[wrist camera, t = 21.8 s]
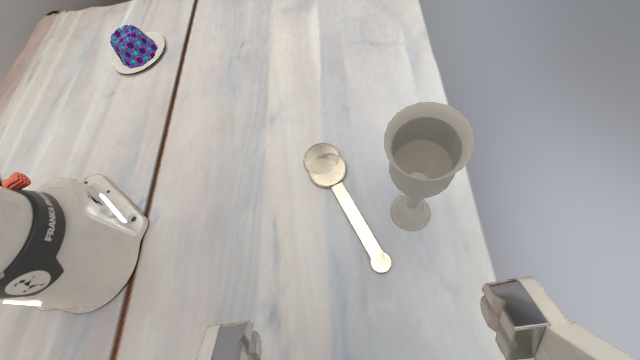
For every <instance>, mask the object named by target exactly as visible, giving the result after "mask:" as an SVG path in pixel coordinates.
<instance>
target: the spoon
mask: <svg viewBox="0 0 640 360" xmlns="http://www.w3.org/2000/svg"><path fill="white" fill-rule="evenodd" d="M304 165H305V168H306V170H307V171H308V172H309V173H310V177H311V179H312V181H313V182H314V183H315V184H316V185H317V186H319V187H322V188H331V189H332V191H333V193H334V195H335V197H336V198H337V200H338V202H339V204H340V205H341V207H342V209H343V211H344V212H345V214H346V216H347V218H348V220H349V221H350V223H351V225H352V227H353V228H354V230H355V232H356V234H357V235H358V237H359V239H360V241H361V243H362V244H363V246H364V248H365V250H366V251H367V253H368V255H369V257H370V258H371V261H370V263H371V267H372V268H373V270H374V271H376V272H377V273H386V272H388V271H389V270H390V268H391V266H392V260H391V257H390V256H389V255H388V254H387V253H385V252H383V250H382V249H381V247H380V245H379V243H378V242H377V240H376V238H375V237H374V235H373V233H372V232H371V230H370V228H369V227H368V225H367V223H366V222H365V220H364V218H363V217H362V215H361V213H360V211H359V210H358V208H357V206H356V205H355V203H354V201H353V200H352V198H351V196H350V195H349V193H348V191H347V190H346V188H345V186H344V184H343V183H342V181H343V180H344V178H345V176H346V171H347V169H346V164H345V162H344V160H343V159H342V158H341V157H340V155H339V152H338V150H337V149H336V148H335V147H334V146H332V145H330V144H327V143H320V144H316V145H314V146H312V147H311V148H310V149H309V150H308V151H307V152H306V154H305V156H304Z"/></svg>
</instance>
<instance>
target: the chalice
mask: <svg viewBox="0 0 640 360" xmlns="http://www.w3.org/2000/svg"><path fill="white" fill-rule="evenodd" d="M384 147H385V150H386V154H387V157H388V159H389V160H390V164H389V172H390V175H391V178H392V181H393V182H394V183H395V185H396V186H397V188H398V189H399V190H400V191H402V192H403V193H404V194H406V195H402V196H400V197H398V198H397V199H396V200H395V201H394V202H393V204H392V207H391V217H392V220H393V221H394V222H395V224H396V225H397V226H399V227H400V228H401V229H404V230H407V231H415V230H419V229H421V228H423V227H424V226H425V225H426V224H427V223H428V221H429V218H430V208H429V206H428V204H427V203H426V201H425V200H424V198H428V197H431V196H434V195H437V194H439V193H440V192H442V191H443V190H445V189H446V188H447V187H448V185H449V184H450V182H451V181H452V179H453V177H454V175H455V173H457V172H458V171H459V170H461V169H462V168H463V167H464V166H465V165H466V163H467V162H468V160H469V159H470V158H471V155H472V151H473V147H474V136H473V131H472V129H471V127H470V125H469V122H468V120H466V118H465V117H464V116H462V114H460V112H458V111H457V110H455V109H453V108H451V107H450V106H448V105H445V104H440V103H436V102H421V103H417V104H414V105H411V106H408V107H406V108H404V109H403V110H401V111H400V112H398V113H397V114H396V115H395V116H394V117H393V118H392V120H391V121H390V122H389V124H388V126H387V129H386V131H385V134H384Z"/></svg>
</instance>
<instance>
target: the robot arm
mask: <svg viewBox="0 0 640 360" xmlns="http://www.w3.org/2000/svg"><path fill="white" fill-rule="evenodd" d="M30 184H31V181H30V179H29V178H28V177H26V176H25V175H23V174H21V173H18V172H17V173H16V172H15V173H13V174H12V175H11V176H10V177H9V178H8V179H7V180H5V181H3V182H2V186H3V187H2V186H1V184H0V299H2V300H8V301H3V303H7V304H20V305H32V306H35V308H37V309H41V310H52V309H61V310H64V311H67V312H71V313H77V314H81V313H87V312H91V311H94V310H96V309H98V308H100V307H102V306H103V305H105V304H107V303H108V302H109V301H110V300H112V299H113V298H114V297H115V296H116V295H117V294H118V293H119V292H120V291H121V290H122V288H123V287H124V286H125V284H126V283H127V281H128V280H129V278H130V276H131V275H132V273H133V270H134V268H135V265H136V262H137V259H138V254H139V247H140V242H141V239H142V237H143V235H144V233H145V231H146V229H147V227H148V219H147V218H146V217H145V216H144V215H143V214H142V213H141V212H140V211H139V210H138V209H137V208H136V207H135V206H134V205H133V204H132V203H131V202H130V201H129V200H128V199H127V198H126V197H125V196H124V195H123V194H122V193H121V192H120V191H119V190H118V189H117V188H116V187H115V186H114V185H113V184H112V183H111V182H110V181H109V180H108V179H107V178H106V177H104V176H102V175H94V176H91V177H88V178H85V179H83V180H81V181H78V180H75V179H72V178H60V179H57V180H54V181H52V182H49V183H47V184H46V185H44V186H42V187H40V188H39V189H37V190H36V191H27V190H21V189H23V188H25V187H27V186H28V185H30ZM135 219H136V220H135ZM482 291H483V293H484V296H483V297H482V298H481V303H480V305H481V310H482V314H483V316H484V319H485V321H486V323H487V325H488V327H490V328H491V329H492V330H494V331H495V332H497V333H496V339H495V340H496V342H497V344H498V346H499V348H500V350H501V352H502V354H503V355H504V357H505V359H506V360H517V359H526V358H534V359H535V360H638V359H636V358H634V357H633V356H631V355H629V354H627V353H626V352H624V351H622V350H621V349H619V348H617V347H616V346H614V345H612V344H611V343H609V342H607V341H606V340H604V339H602V338H600V337H599V336H597V335H595V334H594V333H592V332H590V331H589V330H587V329H585V328H584V327H582V326H580V325H579V324H577V323H575V322H573V323H569V321H568V320H567V319H566V317H565V316H564V315H563V313H562V312H561V311H560V310H559V309H558V307H557V306H556V304H555V303H554V302H553V300H552V299H551V298H550V297H549V295H548V294H547V293H546V291H545V290H544V289H543V288H542V286H541V285H540V284H539V282H538V281H537V280H536V279H535V278H533V277H530V276H529V277H523V278H517V279H509V280H503V281H497V282H491V283H486V284H484V285H483V288H482ZM261 351H262V350H261V340H260V336H259V334H258V332H256V331H254V330H253V324H252V322H251V321H250V320H249V321H243V322H236V323H230V324H221V325H215V326H209V327H208V328H207V329H206V331H205V333H204V337H203V340H202V343H201V347H200V350H199V354H198V357H197V360H261Z"/></svg>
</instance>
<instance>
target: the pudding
mask: <svg viewBox="0 0 640 360" xmlns="http://www.w3.org/2000/svg"><path fill="white" fill-rule="evenodd" d="M110 42H111V45H112V47H113V49H114V50H115V52H116V53H115V55H114V57H113V67H114V69H115V70H116V71H117V72H119V73H123V74H130V73H135V72H138V71H141V70H143V69H145V68H146V67H148V66H149V65H151V64H152V63H153V62H154V61H156V59H157V58H158V57H159V56H160V54H161V53H162V51H163V48H164V43H165V42H164V38H163V37H162V36H161V35H160V34H159V33H156V32H144V33H143V32H142V31H140V30H139V29H138V28H137V27H135V26H132V25H130V26H128V25H125V26H123V27H121V28H118V29H117V30H116V31H115V33H113V34H112V35H111V41H110Z"/></svg>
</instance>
